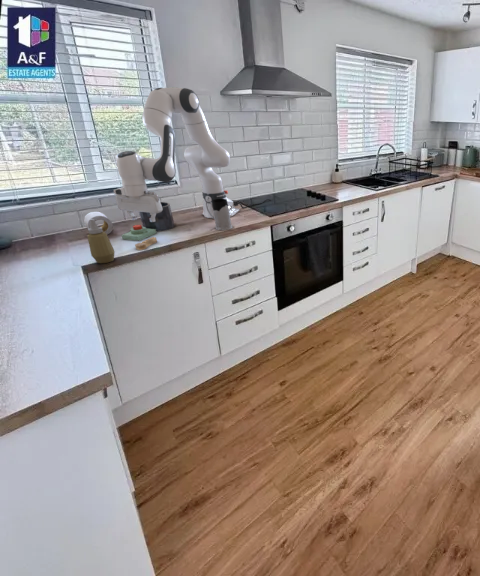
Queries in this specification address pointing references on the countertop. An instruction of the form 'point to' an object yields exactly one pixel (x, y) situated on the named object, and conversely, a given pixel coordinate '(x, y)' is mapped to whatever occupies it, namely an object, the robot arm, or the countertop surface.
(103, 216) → the toilet paper
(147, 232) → the base
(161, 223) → the dark grey round container
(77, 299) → the countertop surface
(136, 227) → the button
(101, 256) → the squeeze bottle
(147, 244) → the bone dog treat
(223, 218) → the grey and black mug
